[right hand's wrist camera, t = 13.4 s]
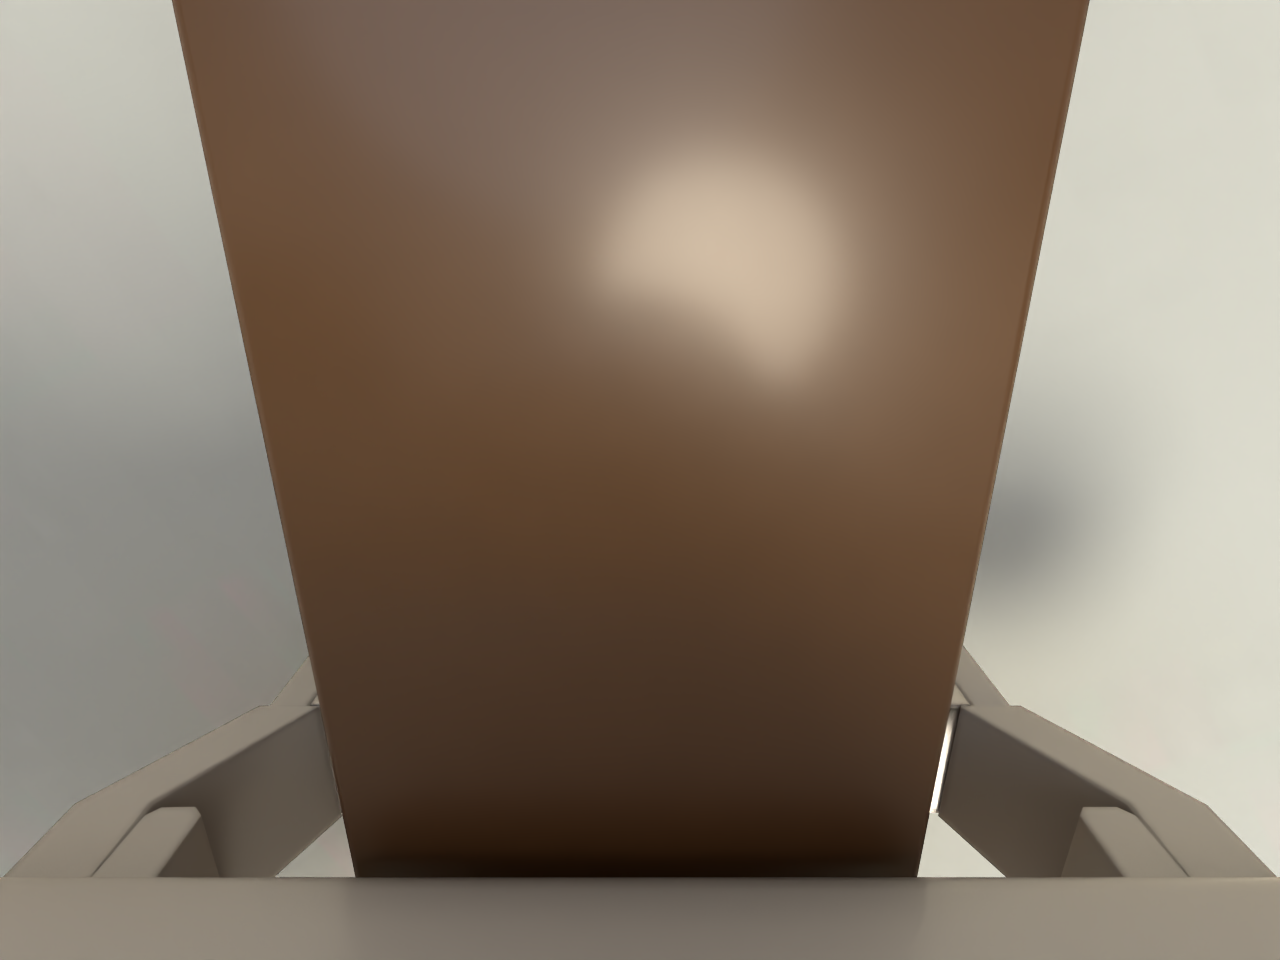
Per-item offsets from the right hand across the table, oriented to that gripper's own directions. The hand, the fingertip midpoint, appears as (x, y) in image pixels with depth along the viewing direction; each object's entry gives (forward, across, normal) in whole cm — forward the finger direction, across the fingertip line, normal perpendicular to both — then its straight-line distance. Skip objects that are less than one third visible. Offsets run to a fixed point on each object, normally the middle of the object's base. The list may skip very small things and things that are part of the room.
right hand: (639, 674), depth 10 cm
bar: (+4, 0, -10) cm, 10 cm away
